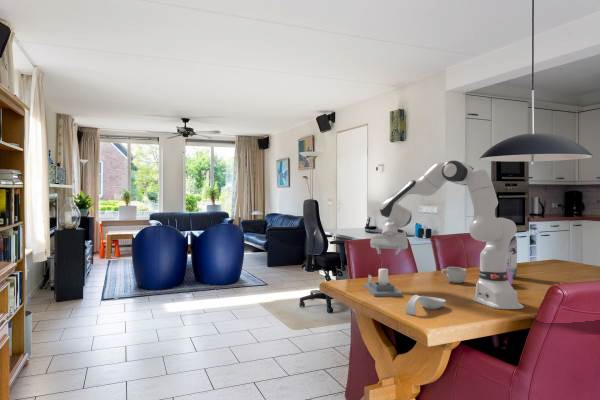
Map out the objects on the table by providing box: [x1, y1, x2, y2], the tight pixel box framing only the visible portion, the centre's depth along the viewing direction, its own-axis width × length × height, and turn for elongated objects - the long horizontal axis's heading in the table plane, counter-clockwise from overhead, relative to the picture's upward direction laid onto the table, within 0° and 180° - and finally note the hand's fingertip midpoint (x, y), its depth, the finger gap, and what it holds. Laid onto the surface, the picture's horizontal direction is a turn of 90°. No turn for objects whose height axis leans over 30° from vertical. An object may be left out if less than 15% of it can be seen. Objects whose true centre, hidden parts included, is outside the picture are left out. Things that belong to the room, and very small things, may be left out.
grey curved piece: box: [404, 294, 447, 316], centre depth 176 cm, size 24×12×7 cm, turn 134°
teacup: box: [441, 266, 467, 284], centre depth 234 cm, size 14×11×8 cm
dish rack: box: [363, 274, 404, 298], centre depth 211 cm, size 24×14×6 cm, turn 4°
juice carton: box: [506, 235, 518, 280], centre depth 250 cm, size 9×10×27 cm
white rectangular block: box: [377, 268, 389, 286], centre depth 209 cm, size 5×5×10 cm
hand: (387, 253), depth 220 cm, fingers open, 8 cm apart
